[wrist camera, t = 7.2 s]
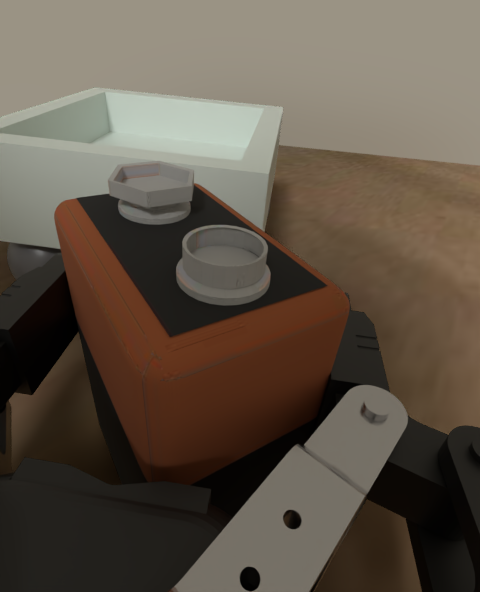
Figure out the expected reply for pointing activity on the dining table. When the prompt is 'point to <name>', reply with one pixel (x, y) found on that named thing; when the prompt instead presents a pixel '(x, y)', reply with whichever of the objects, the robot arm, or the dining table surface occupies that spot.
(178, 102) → the cart
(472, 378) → the dining table surface
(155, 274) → the battery
